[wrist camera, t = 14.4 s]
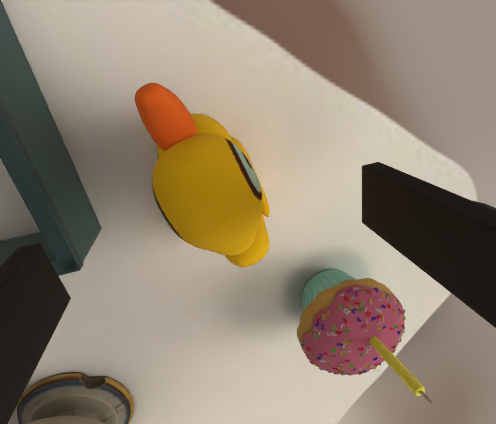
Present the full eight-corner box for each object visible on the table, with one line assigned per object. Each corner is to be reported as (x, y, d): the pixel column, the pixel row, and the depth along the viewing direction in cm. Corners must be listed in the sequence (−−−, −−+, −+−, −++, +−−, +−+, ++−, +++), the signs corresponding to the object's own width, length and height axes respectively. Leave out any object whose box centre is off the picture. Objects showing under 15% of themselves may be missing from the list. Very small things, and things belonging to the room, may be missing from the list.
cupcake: (296, 248, 25) (378, 378, 14) (383, 253, 27) (512, 370, 16) (274, 326, 28) (328, 480, 17) (353, 326, 30) (445, 463, 20)
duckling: (121, 103, 18) (58, 128, 9) (199, 61, 18) (211, 45, 9) (211, 241, 23) (226, 345, 14) (272, 209, 23) (327, 293, 14)
